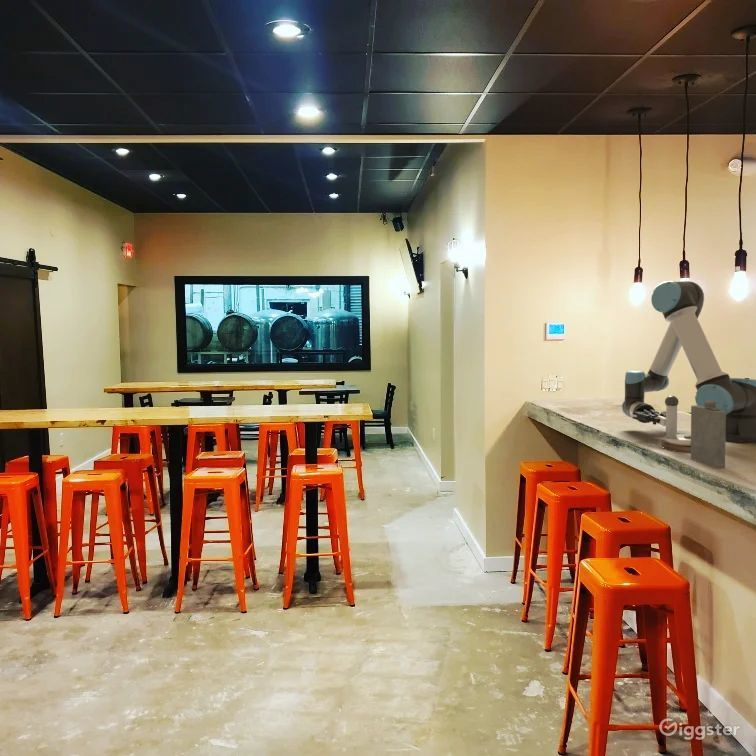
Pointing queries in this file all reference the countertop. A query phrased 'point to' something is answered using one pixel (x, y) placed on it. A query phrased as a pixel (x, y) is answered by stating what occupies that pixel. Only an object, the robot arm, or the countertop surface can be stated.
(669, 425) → the light grey l-shaped piece
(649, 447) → the countertop surface
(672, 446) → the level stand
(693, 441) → the hip flask
